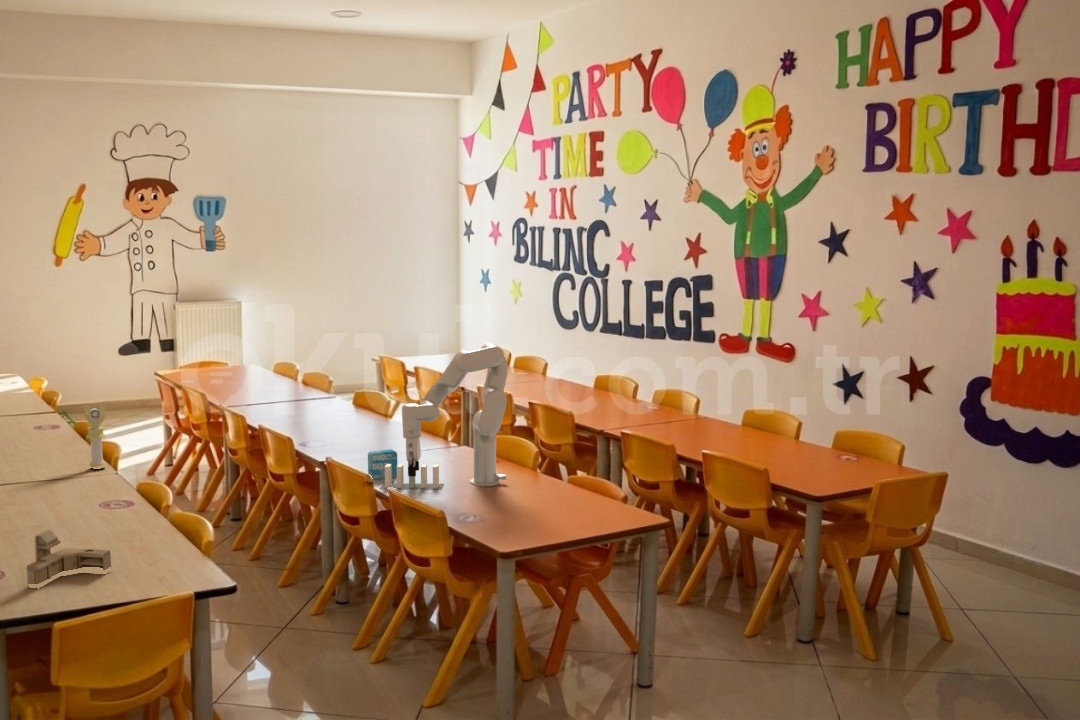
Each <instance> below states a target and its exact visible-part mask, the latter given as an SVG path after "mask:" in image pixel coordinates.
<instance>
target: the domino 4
mask: <svg viewBox="0 0 1080 720" xmlns="http://www.w3.org/2000/svg"><path fill="white" fill-rule="evenodd" d="M420 484H421V488H426V487H427V484H428V464H426V463H425V464H424V463H422V464H421V466H420Z"/></svg>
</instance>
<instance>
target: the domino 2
mask: <svg viewBox="0 0 1080 720" xmlns="http://www.w3.org/2000/svg"><path fill="white" fill-rule="evenodd" d="M404 482H405V481H404V463H403V464H402V463H397V477H396V483H397V488H402V487H403V485H404Z"/></svg>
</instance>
